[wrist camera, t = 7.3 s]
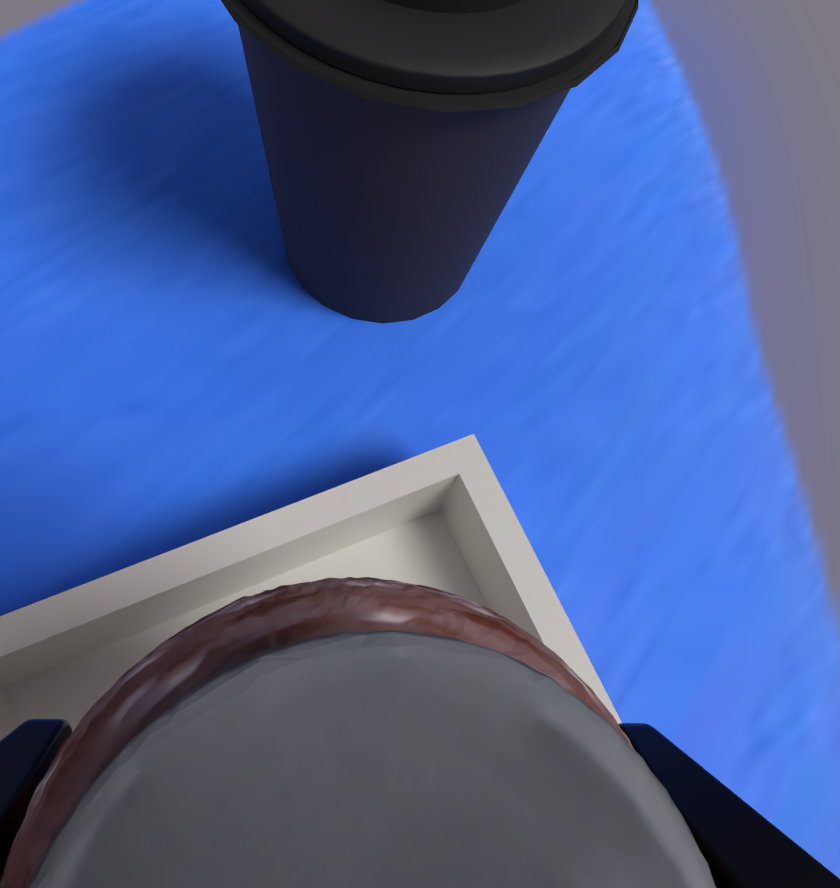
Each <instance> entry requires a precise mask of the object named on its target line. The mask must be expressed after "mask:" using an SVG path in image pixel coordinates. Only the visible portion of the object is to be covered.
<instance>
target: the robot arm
mask: <svg viewBox="0 0 840 888" xmlns="http://www.w3.org/2000/svg"><path fill="white" fill-rule="evenodd" d="M618 725H619V726H620V728H621V729H622V731H623V732H624V733H625V734H626V736H627V737H628V738H629V740H630V742H631V745H632V747H633V748H634V750H635V751H636V752H637V753H638V754H639V755H640V756H641V757H642V758H643V759H644V761H645V763H646V764H647V766H648V767H649V769H650V771H651V772H652V773H653V774H654V775H655V777H656V778H657V779H658V780H659V781H660V783H661V784H662V785H663V786H664V787H665V789H666V790H667V791H668V793H669V796H670V798H671V799H672V801H673V802H674V804H675V805H676V807H677V808H678V810H679V811H680V813H681V814H682V816H683V818H684V820H685V822H686V823H687V825H688V827H689V829H690V831H691V833H692V835H693V837H694V839H695V841H696V844H697V846H698V848H699V850H700V852H701V853H702V855H703V857H704V858H705V860H706V862H707V863H708V866H709V869H710V871H711V874H712V877H713V880H714V883H715V886H716V888H840V879H839V878H838V877H837V876H835V875H834V874H833V873H832V872H830V871H829V870H828V869H827V868H826V867H824V866H823V865H822V864H821V863H819V862H818V861H817V860H816V859H814V858H813V857H812V856H811V855H810V854H808V853H807V852H806V851H805V850H803V849H802V848H801V847H800V846H798V845H797V844H796V843H795V842H794V841H792V840H791V839H790V838H789V837H787V836H786V835H785V834H784V833H783V832H781V831H780V830H779V829H778V828H776V827H775V826H774V825H773V824H771V823H770V822H769V821H768V820H767V819H765V818H764V817H763V816H762V815H760V814H759V813H758V812H757V811H756V810H754V809H753V808H752V807H751V806H749V805H748V804H747V803H746V802H744V801H743V800H742V799H741V798H740V797H738V796H737V795H736V794H735V793H733V792H732V791H731V790H730V789H728V788H727V787H726V786H725V785H724V784H722V783H721V782H720V781H719V780H717V779H716V778H715V777H714V776H713V775H711V774H710V773H709V772H708V771H706V770H705V769H704V768H703V767H701V766H700V765H699V764H698V763H697V762H695V761H694V760H693V759H692V758H690V757H689V756H688V755H687V754H686V753H684V752H683V751H682V750H681V749H679V748H678V747H677V746H676V745H674V744H673V743H672V742H671V741H670V740H668V739H667V738H666V737H665V736H663V735H662V734H661V733H660V732H658V731H657V730H656V729H655V728H653V727H652V726H650V725H648V724H643V723H619V724H618ZM71 734H72V728H71V725H70V723H69V722H68V721H67V720H65V719H30V720H27V721H25V722H24V723H22V724H21V725H19V726H18V727H17V728H16V729H14V730H13V731H12V732H11V733H9V734H8V735H7V736H6V737H4V738H3V739H2V740H1V741H0V879H1V876H2V873H3V870H4V867H5V863H6V860H7V857H8V854H9V852H10V849H11V847H12V844H13V842H14V839H15V837H16V835H17V833H18V831H19V829H20V827H21V825H22V823H23V820H24V818H25V815H26V813H27V809H28V806H29V803H30V801H31V799H32V797H33V795H34V792H35V790H36V788H37V786H38V785H39V783H40V782H41V780H42V779H43V777H44V776H45V774H46V772H47V770H48V769H49V767H50V765H51V763H52V761H53V760H54V758H55V757H56V755H57V753H58V751H59V749H60V747H61V745H62V744H63V743H64V742H65V740H66V739H67V738H68V737H69V736H70V735H71Z"/></svg>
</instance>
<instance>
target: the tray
mask: <svg viewBox="0 0 840 888" xmlns="http://www.w3.org/2000/svg"><path fill="white" fill-rule="evenodd" d="M347 577H354V578H362V577H371V578H378V579H383V580H394V581H399V582H403V583H409V584H414V585H423V586H427V587H432V588H436V589H439V590H442V591H445V592H449V593H452V594H455V595H458V596H461V597H464V598H467V599H470V600H472V601H474V602H476V603H477V604H479V605H481V606H483V607H486V608H489V609H490V610H492V611H494V612H495V613H497V614H499V615H501V616H503V617H505V618H507V619H508V620H510V621H511V622H512V623H514V624H515V625H517V626H518V627H520V628H521V629H523V630H525V631H526V632H528V633H529V634H531V635H532V636H533V637H535V638H536V639H537V640H539V641H540V642H541V643H543V644H544V645H545V646H547V647H548V648H549V649H551V650H552V651H554V652H555V653H556V654H557V655H558V656H559V657H560V658H561V659H563V661H564V662H565V663H566V664H567V665H568V666H569V667H570V668H571V669H572V670H573V671H574V672H575V673H576V674H577V675H578V676H579V677H580V678H581V679H582V680H583V681H584V682H585V683H586V684H587V685H588V686H589V687H590V688H591V689H592V690H593V691H594V693H595V694H596V696H597V697H598V698H599V699H600V701H601V702H602V703H603V704H604V706H605V707H606V708H607V709H608V710H609V712H610V713H611V714H612V715H613V716H614V718H615V719H616V721H617V723H618V724H619V723H622V722H621V720H620V718H619V716H618V714H617V712H616V711H615V709H614V707H613V705H612V703H611V701H610V699H609V697H608V695H607V693H606V691H605V689H604V687H603V685H602V683H601V681H600V679H599V677H598V675H597V673H596V671H595V670H594V668H593V666H592V664H591V662H590V660H589V658H588V656H587V654H586V652H585V650H584V648H583V646H582V644H581V642H580V640H579V638H578V636H577V634H576V632H575V630H574V629H573V627H572V625H571V623H570V621H569V619H568V617H567V615H566V613H565V611H564V609H563V607H562V605H561V603H560V601H559V599H558V597H557V595H556V593H555V591H554V589H553V588H552V586H551V584H550V582H549V580H548V578H547V576H546V574H545V572H544V570H543V568H542V566H541V564H540V562H539V560H538V558H537V556H536V554H535V552H534V550H533V548H532V547H531V545H530V543H529V541H528V539H527V537H526V535H525V533H524V531H523V529H522V527H521V525H520V523H519V521H518V519H517V517H516V515H515V513H514V511H513V509H512V507H511V506H510V504H509V502H508V500H507V498H506V496H505V494H504V492H503V490H502V488H501V486H500V484H499V482H498V480H497V478H496V476H495V474H494V472H493V470H492V468H491V466H490V465H489V463H488V461H487V459H486V457H485V455H484V453H483V451H482V449H481V447H480V445H479V443H478V441H477V439H476V437H475V435H474V434H472V435H469V436H467V437H464V438H462V439H459V440H456V441H454V442H451V443H449V444H446V445H444V446H441V447H438V448H436V449H433V450H431V451H428V452H425V453H423V454H420V455H418V456H415V457H412V458H410V459H407V460H405V461H402V462H399V463H397V464H394V465H392V466H389V467H386V468H384V469H381V470H379V471H376V472H373V473H371V474H368V475H366V476H363V477H360V478H358V479H355V480H353V481H350V482H347V483H345V484H342V485H340V486H337V487H334V488H332V489H329V490H327V491H324V492H321V493H319V494H316V495H314V496H311V497H308V498H306V499H303V500H301V501H298V502H295V503H293V504H290V505H288V506H285V507H283V508H280V509H277V510H275V511H272V512H270V513H267V514H264V515H262V516H259V517H257V518H254V519H251V520H249V521H246V522H244V523H241V524H238V525H236V526H233V527H231V528H228V529H225V530H223V531H220V532H218V533H215V534H212V535H210V536H207V537H205V538H202V539H199V540H197V541H194V542H192V543H189V544H186V545H184V546H181V547H179V548H176V549H173V550H171V551H168V552H166V553H163V554H160V555H158V556H155V557H153V558H150V559H147V560H145V561H142V562H140V563H137V564H135V565H132V566H129V567H127V568H124V569H122V570H119V571H116V572H114V573H111V574H109V575H106V576H103V577H101V578H98V579H96V580H93V581H90V582H88V583H85V584H83V585H80V586H77V587H75V588H72V589H70V590H67V591H64V592H62V593H59V594H57V595H54V596H51V597H49V598H46V599H44V600H41V601H38V602H36V603H33V604H31V605H28V606H25V607H23V608H20V609H18V610H15V611H12V612H10V613H7V614H5V615H2V616H0V741H1V740H2V739H3V738H4V737H6V736H7V735H8V734H9V733H11V732H12V731H13V730H14V729H16V728H17V727H18V726H19V725H21V724H22V723H24V722H25V721H27V720H30V719H65V720H67V721H68V722H69V723H70V725H71V728H72V733H73V731H74V730H75V728H76V727H77V725H78V724H79V722H80V721H81V719H82V718H83V717H84V715H85V714H86V713H87V712H88V711H89V710H90V708H91V707H92V706H93V705H94V704H95V703H96V702H97V701H98V700H99V699H100V698H101V697H102V696H103V695H104V694H105V693H106V692H107V691H108V690H109V689H110V688H111V687H112V686H113V685H114V684H115V683H116V681H117V680H118V679H119V678H120V677H121V676H122V675H123V674H124V673H125V672H127V671H128V670H129V669H130V668H132V667H133V666H134V665H135V664H137V663H138V662H139V661H140V660H142V659H143V658H144V657H145V656H147V655H148V654H149V653H150V652H152V651H153V650H154V649H155V648H156V647H158V646H159V645H160V644H161V643H163V642H164V641H166V640H167V639H169V638H170V637H172V636H174V635H175V634H176V633H178V632H179V631H181V630H182V629H184V628H185V627H187V626H189V625H191V624H193V623H195V622H196V621H198V620H199V619H201V618H202V617H204V616H206V615H208V614H210V613H213V612H215V611H217V610H218V609H220V608H222V607H224V606H226V605H228V604H230V603H231V602H233V601H235V600H237V599H239V598H241V597H243V596H253V595H255V594H259V593H261V592H263V591H265V590H272V589H275V588H277V587H279V586H281V585H293V584H297V583H302V582H313V581H317V580H322V579H326V578H347Z"/></svg>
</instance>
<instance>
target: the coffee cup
mask: <svg viewBox="0 0 840 888" xmlns="http://www.w3.org/2000/svg"><path fill="white" fill-rule="evenodd" d="M221 1H222V2H223V4H224V6H225V7H226V9H227V10H228V12H229V13H230V15H231V16H232V18H233V19H234V21H235V22H236V23H237V24H238V26H239V31H240V35H241V40H242V45H243V50H244V54H245V59H246V64H247V68H248V73H249V78H250V83H251V87H252V92H253V97H254V102H255V106H256V111H257V116H258V121H259V125H260V130H261V135H262V139H263V144H264V149H265V154H266V158H267V163H268V168H269V173H270V177H271V182H272V187H273V192H274V196H275V201H276V206H277V211H278V215H279V220H280V225H281V229H282V234H283V239H284V244H285V248H286V253H287V258H288V263H289V265H290V267H291V268H292V270H293V271H294V273H295V275H296V276H297V278H298V280H299V281H300V283H301V285H302V286H303V287H304V288H305V289H306V290H307V291H308V292H309V293H311V294H312V295H313V296H314V297H315V298H316V299H318V300H319V301H320V302H321V303H322V304H324V305H325V306H326V307H329V308H331V309H333V310H335V311H338V312H340V313H342V314H344V315H347V316H349V317H351V318H353V319H360V320H366V321H373V322H379V323H389V322H397V321H405V320H413V319H416V318H418V317H420V316H422V315H425V314H427V313H429V312H431V311H434V310H436V309H438V308H440V307H441V306H442V305H443V304H444V303H445V302H446V301H447V300H448V299H449V298H450V297H451V296H453V295H454V294H455V293H456V292H457V291H458V289H459V288H460V286H461V284H462V282H463V280H464V279H465V277H466V275H467V273H468V271H469V270H470V268H471V266H472V264H473V262H474V261H475V259H476V257H477V255H478V254H479V252H480V250H481V248H482V246H483V245H484V243H485V241H486V239H487V237H488V236H489V234H490V232H491V230H492V228H493V227H494V225H495V223H496V221H497V219H498V218H499V216H500V214H501V212H502V210H503V209H504V207H505V205H506V203H507V201H508V200H509V198H510V196H511V194H512V192H513V191H514V189H515V187H516V185H517V183H518V182H519V180H520V178H521V176H522V175H523V173H524V171H525V169H526V167H527V166H528V164H529V162H530V160H531V158H532V157H533V155H534V153H535V151H536V149H537V148H538V146H539V144H540V142H541V140H542V139H543V137H544V135H545V133H546V131H547V130H548V128H549V126H550V124H551V122H552V121H553V119H554V117H555V115H556V113H557V112H558V110H559V108H560V106H561V105H562V103H563V101H564V99H565V97H566V96H567V94H568V92H569V90H570V88H573V87H576V86H578V85H579V84H580V83H581V82H582V81H584V80H585V79H586V78H587V77H588V76H589V75H591V74H592V73H593V72H594V71H595V70H597V69H598V68H599V67H600V66H601V65H602V64H604V63H605V62H606V61H607V60H608V59H610V58H611V57H612V56H613V55H614V54H615V53H617V52H618V51H619V49H620V47H621V44H622V42H623V40H624V38H625V36H626V33H627V31H628V29H629V27H630V25H631V23H632V20H633V18H634V16H635V14H636V12H637V9H638V0H221Z"/></svg>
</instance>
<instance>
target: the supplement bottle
mask: <svg viewBox="0 0 840 888" xmlns="http://www.w3.org/2000/svg"><path fill="white" fill-rule="evenodd" d="M0 888H716V886H715V883H714V880H713V877H712V874H711V871H710V869H709V866H708V863H707V862H706V860H705V858H704V857H703V855H702V853H701V852H700V850H699V848H698V846H697V844H696V841H695V839H694V837H693V835H692V833H691V831H690V829H689V827H688V825H687V823H686V822H685V820H684V818H683V816H682V814H681V813H680V811H679V810H678V808H677V807H676V805H675V804H674V802H673V801H672V799H671V798H670V796H669V793H668V791H667V790H666V789H665V787H664V786H663V785H662V784H661V783H660V781H659V780H658V779H657V778H656V777H655V775H654V774H653V773H652V772H651V771H650V769H649V767H648V766H647V764H646V763H645V761H644V759H643V758H642V757H641V756H640V755H639V754H638V753H637V752H636V751H635V750H634V748H633V747H632V745H631V742H630V740H629V738H628V737H627V736H626V734H625V733H624V732H623V731H622V729H621V728H620V726H619V725H618V723H617V721H616V719H615V718H614V716H613V715H612V714H611V713H610V712H609V710H608V709H607V708H606V707H605V706H604V704H603V703H602V702H601V701H600V699H599V698H598V697H597V696H596V694H595V693H594V691H593V690H592V689H591V688H590V687H589V686H588V685H587V684H586V683H585V682H584V681H583V680H582V679H581V678H580V677H579V676H578V675H577V674H576V673H575V672H574V671H573V670H572V669H571V668H570V667H569V666H568V665H567V664H566V663H565V662H564V661H563V659H561V658H560V657H559V656H558V655H557V654H556V653H555V652H554V651H552V650H551V649H549V648H548V647H547V646H545V645H544V644H543V643H541V642H540V641H539V640H537V639H536V638H535V637H533V636H532V635H531V634H529V633H528V632H526V631H525V630H523V629H521V628H520V627H518V626H517V625H515V624H514V623H512V622H511V621H510V620H508V619H507V618H505V617H503V616H501V615H499V614H497V613H495V612H494V611H492V610H490V609H489V608H486V607H483V606H481V605H479V604H477V603H476V602H474V601H472V600H470V599H467V598H464V597H461V596H458V595H455V594H452V593H449V592H445V591H442V590H439V589H436V588H432V587H427V586H423V585H414V584H409V583H403V582H399V581H394V580H383V579H378V578H371V577H362V578H354V577H347V578H326V579H322V580H317V581H313V582H302V583H297V584H293V585H281V586H279V587H277V588H275V589H272V590H265V591H263V592H261V593H259V594H255V595H253V596H243V597H241V598H239V599H237V600H235V601H233V602H231V603H230V604H228V605H226V606H224V607H222V608H220V609H218V610H217V611H215V612H213V613H210V614H208V615H206V616H204V617H202V618H201V619H199V620H198V621H196V622H195V623H193V624H191V625H189V626H187V627H185V628H184V629H182V630H181V631H179V632H178V633H176V634H175V635H174V636H172V637H170V638H169V639H167V640H166V641H164V642H163V643H161V644H160V645H159V646H158V647H156V648H155V649H154V650H153V651H152V652H150V653H149V654H148V655H147V656H145V657H144V658H143V659H142V660H140V661H139V662H138V663H137V664H135V665H134V666H133V667H132V668H130V669H129V670H128V671H127V672H125V673H124V674H123V675H122V676H121V677H120V678H119V679H118V680H117V681H116V683H115V684H114V685H113V686H112V687H111V688H110V689H109V690H108V691H107V692H106V693H105V694H104V695H103V696H102V697H101V698H100V699H99V700H98V701H97V702H96V703H95V704H94V705H93V706H92V707H91V708H90V710H89V711H88V712H87V713H86V714H85V715H84V717H83V718H82V719H81V721H80V722H79V724H78V725H77V727H76V728H75V730H74V731H73V733H72V734H71V735H70V736H69V737H68V738H67V739H66V740H65V742H64V743H63V744H62V745H61V747H60V749H59V751H58V753H57V755H56V757H55V758H54V760H53V761H52V763H51V765H50V767H49V769H48V770H47V772H46V774H45V776H44V777H43V779H42V780H41V782H40V783H39V785H38V786H37V788H36V790H35V792H34V795H33V797H32V799H31V801H30V803H29V806H28V809H27V813H26V815H25V818H24V820H23V823H22V825H21V827H20V829H19V831H18V833H17V835H16V837H15V839H14V842H13V844H12V847H11V849H10V852H9V854H8V857H7V860H6V863H5V867H4V870H3V873H2V876H1V879H0Z"/></svg>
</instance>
